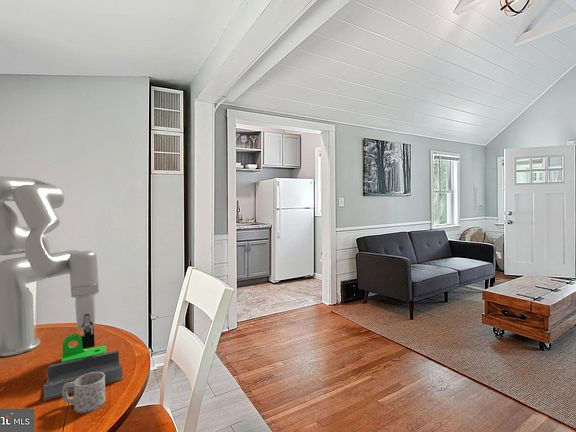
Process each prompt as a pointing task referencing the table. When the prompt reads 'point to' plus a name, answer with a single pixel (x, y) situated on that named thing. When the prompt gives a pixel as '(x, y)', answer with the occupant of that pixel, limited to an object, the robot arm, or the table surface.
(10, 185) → the robot arm
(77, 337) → the mechanical part
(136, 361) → the table surface
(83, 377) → the mug
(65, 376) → the cradle
